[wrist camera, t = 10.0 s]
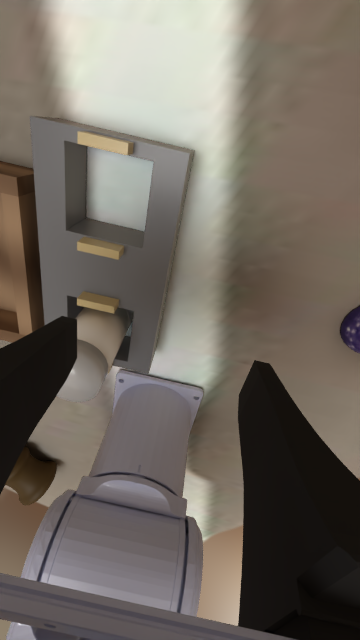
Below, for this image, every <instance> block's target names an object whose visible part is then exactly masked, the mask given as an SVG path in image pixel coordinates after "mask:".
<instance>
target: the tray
mask: <svg viewBox="0 0 360 640" xmlns="http://www.w3.org/2000/svg"><path fill="white" fill-rule="evenodd" d="M44 325H45V323H44V309H43V295H42V281H41V267H40V253H39V239H38V224H37V210H36V196H35V182H34V169H31V168H27V167H23V166H19V165H14V164H10V163H6V162H1V161H0V340H5V341H9V342H15V341H17V340H19V339H21V338H23V337H24V336H26V335H28V334H30V333H32V332H34V331H35V330H37V329H39V328H41V327H43V326H44Z"/></svg>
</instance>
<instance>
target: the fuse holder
mask: <svg viewBox="0 0 360 640" xmlns="http://www.w3.org/2000/svg"><path fill="white" fill-rule="evenodd" d="M30 126H31V140H32V154H33V168H34V182H35V196H36V210H37V224H38V239H39V253H40V267H41V281H42V295H43V309H44V323H45V325H46V324H48V323H50V322H52V321H53V320H55V319H57V318H59V317H61V316H65V317H69V318H74V319H75V318H76V317H77V316H78V314H79V313H80V312H81V311H82V309H83V308H84V307H87V308H91V309H96V310H100V311H104V312H109V313H113V314H114V313H115V311H116V309H117V308H118V307H119V308H124V309H128V310H132V311H134V318H133V325H132V333H131V337H128V336H125V337H124V339H123V342H122V344H121V346H120V348H119V350H118V352H117V354H116V356H115V358H114V361H113V363H112V365H113V366H118V367H122V368H126V369H131V370H135V371H139V372H144V373H148V374H149V370H150V367H151V364H152V360H153V357H154V354H155V351H156V346H157V341H158V336H159V331H160V325H161V320H162V315H163V310H164V305H165V300H166V295H167V289H168V284H169V279H170V274H171V269H172V264H173V259H174V253H175V248H176V243H177V238H178V233H179V228H180V222H181V217H182V212H183V207H184V202H185V197H186V192H187V186H188V181H189V176H190V171H191V166H192V161H193V156H194V150H191V149H186V148H182V147H178V146H174V145H169V144H165V143H161V142H157V141H152V140H148V139H144V138H140V137H135V136H131V135H127V134H123V133H118V132H114V131H110V130H106V129H101V128H97V127H93V126H89V125H85V124H80V123H76V122H72V121H68V120H63V119H59V118H49V117H38V116H30ZM87 146H90V147H94V148H98V149H102V150H107V151H111V152H115V153H119V154H124V155H129V156H133V157H137V158H142V159H146V160H150V161H154V164H153V172H152V180H151V187H150V195H149V203H148V210H147V218H146V226H145V232H143V231H139V230H134V229H130V228H126V227H121V226H117V225H113V224H109V223H104V222H100V221H96V220H91V219H87V218H86V171H87ZM112 365H111V367H110V369H109V371H108V373H109V372H110V370H111V368H112Z"/></svg>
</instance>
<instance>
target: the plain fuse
mask: <svg viewBox="0 0 360 640" xmlns="http://www.w3.org/2000/svg"><path fill="white" fill-rule="evenodd" d="M133 318H134V311H132V310H128V309H124V308H119V307H118V308H117V309H116V311H115V313H114V314H113V313H109V312H104V311H100V310H96V309H91V308H87V307H84V308H83V309H82V311H81V312H80V313H79V314H78V316H77V317H76V318H75V319H77V359H76V362H75V364H74V366H73V368H72V370H71V372H70V374H69V376H68V378H67V380H66V381H65V383H64V385H63V386H62V388H61V389H60V391H59V392H58V394H57V395H56V396H57V397H59V398H61V399H64V400H67V401H72V402H85V401H89V400H91V399H93V398H94V397H95V396H96V395H97V394H98V392H99V390H100V388H101V386H102V384H103V382H104V380H105V378H106V375H107V373H108V371H109V369H110V367H111V365H112V363H113V361H114V358H115V356H116V354H117V352H118V350H119V348H120V346H121V344H122V342H123V339H124V337H125V335H126V333H127V331H128V329H129V327H130V325H131V322H132V320H133Z"/></svg>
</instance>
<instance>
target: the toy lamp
mask: <svg viewBox="0 0 360 640" xmlns="http://www.w3.org/2000/svg"><path fill="white" fill-rule="evenodd" d="M340 334H341V338H342V340H343V342H344V343H345V344H346V345H347V346H348V347H349V348H351V349H352V350H354V351H355V352H357V353H360V306H359V307H357V308H356V309H354V310H353V311H351V312H350V313H349V314H348V315H347V316H346V317H345V319H344V321H343V322H342V324H341V330H340Z"/></svg>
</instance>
